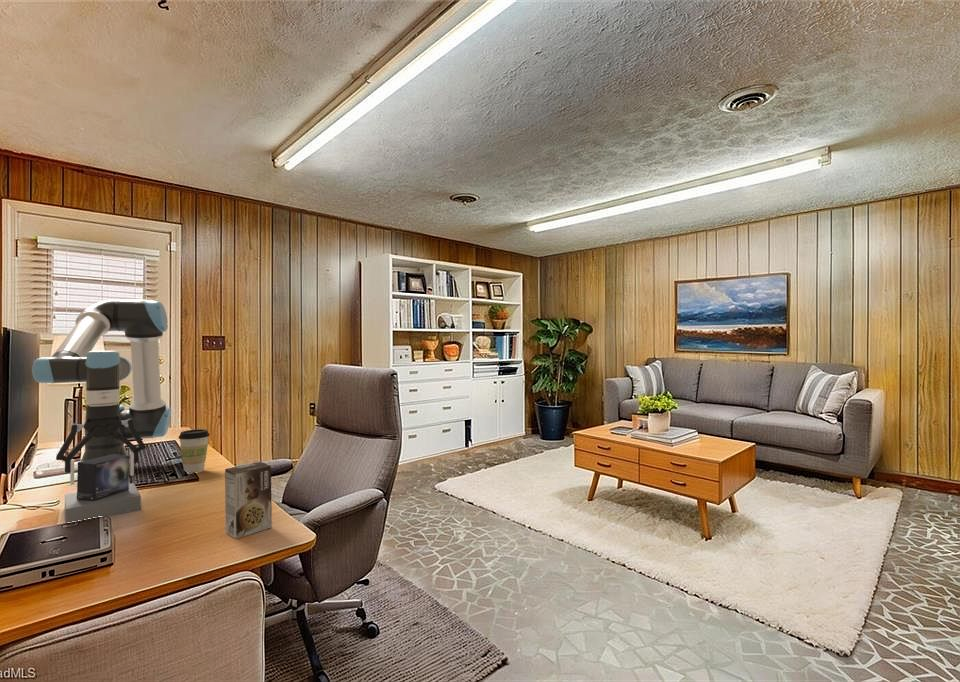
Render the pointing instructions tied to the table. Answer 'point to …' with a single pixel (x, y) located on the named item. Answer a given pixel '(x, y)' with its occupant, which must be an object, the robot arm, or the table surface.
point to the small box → (102, 477)
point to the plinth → (102, 505)
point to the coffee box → (248, 499)
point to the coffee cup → (194, 449)
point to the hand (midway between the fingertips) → (102, 479)
